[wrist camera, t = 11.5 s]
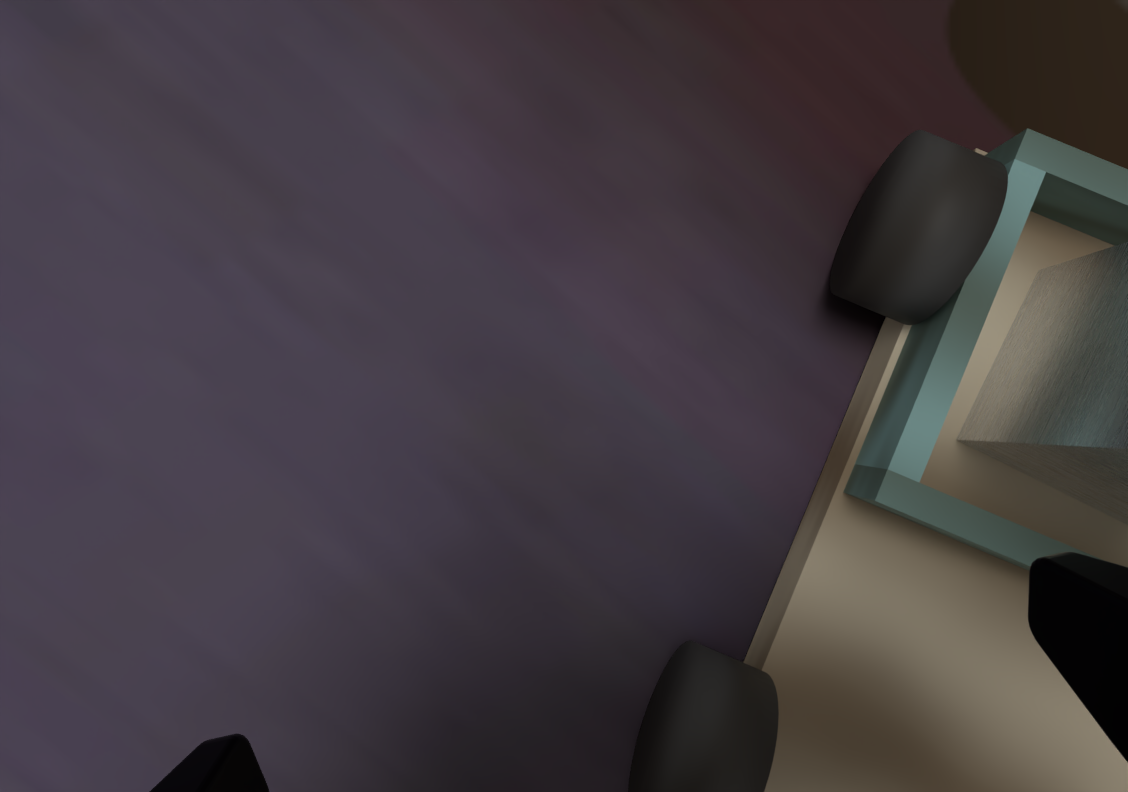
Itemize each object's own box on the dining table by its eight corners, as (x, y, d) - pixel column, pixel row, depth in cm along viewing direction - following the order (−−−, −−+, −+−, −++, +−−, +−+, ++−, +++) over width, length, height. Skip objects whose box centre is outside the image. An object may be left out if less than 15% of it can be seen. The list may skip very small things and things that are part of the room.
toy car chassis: (1079, 996, 20) (1220, 1156, 16) (611, 793, 21) (622, 895, 16) (1341, 330, 21) (1548, 306, 16) (882, 140, 21) (964, 67, 17)
